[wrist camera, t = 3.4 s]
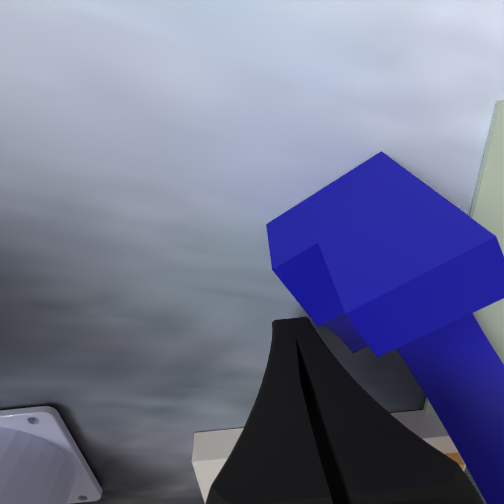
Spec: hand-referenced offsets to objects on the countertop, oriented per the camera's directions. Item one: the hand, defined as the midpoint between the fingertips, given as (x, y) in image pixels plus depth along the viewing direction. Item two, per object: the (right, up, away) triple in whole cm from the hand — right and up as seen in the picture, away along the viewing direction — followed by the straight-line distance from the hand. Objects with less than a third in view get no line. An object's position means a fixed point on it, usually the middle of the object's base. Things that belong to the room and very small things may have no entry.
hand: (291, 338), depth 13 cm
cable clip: (+4, +1, +2) cm, 5 cm away
